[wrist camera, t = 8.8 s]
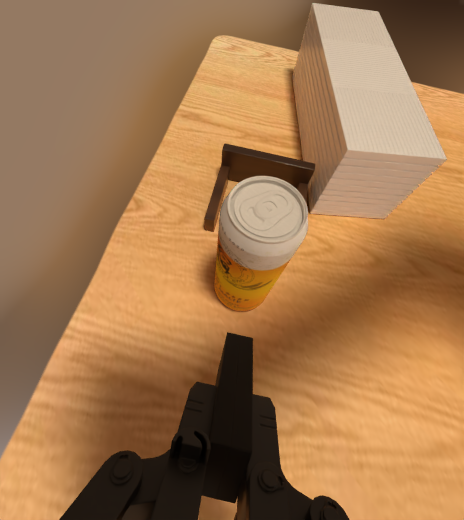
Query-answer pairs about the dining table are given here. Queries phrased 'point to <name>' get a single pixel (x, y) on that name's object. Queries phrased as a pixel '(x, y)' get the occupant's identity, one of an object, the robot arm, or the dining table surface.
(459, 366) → the dining table surface
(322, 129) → the stack of papers
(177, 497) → the robot arm
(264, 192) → the beer can
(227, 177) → the brown wooden u-shaped frame
